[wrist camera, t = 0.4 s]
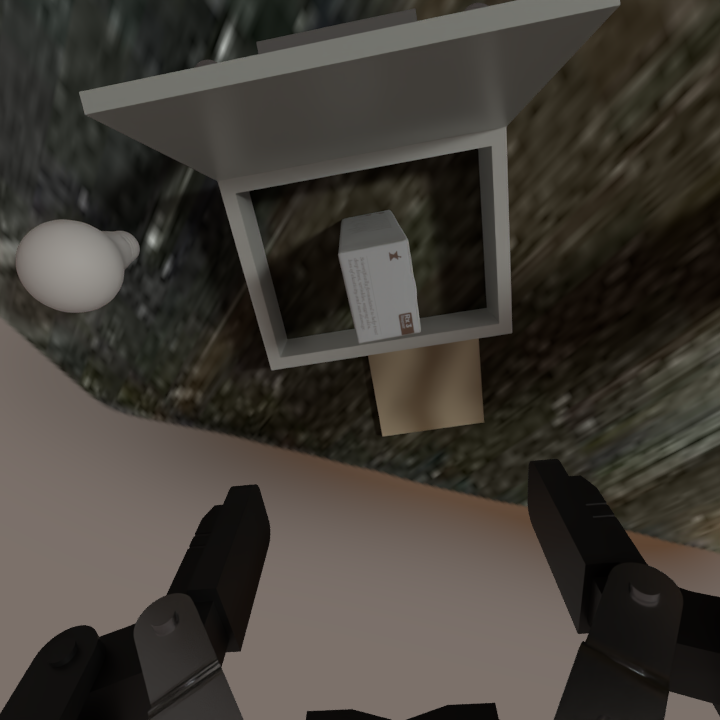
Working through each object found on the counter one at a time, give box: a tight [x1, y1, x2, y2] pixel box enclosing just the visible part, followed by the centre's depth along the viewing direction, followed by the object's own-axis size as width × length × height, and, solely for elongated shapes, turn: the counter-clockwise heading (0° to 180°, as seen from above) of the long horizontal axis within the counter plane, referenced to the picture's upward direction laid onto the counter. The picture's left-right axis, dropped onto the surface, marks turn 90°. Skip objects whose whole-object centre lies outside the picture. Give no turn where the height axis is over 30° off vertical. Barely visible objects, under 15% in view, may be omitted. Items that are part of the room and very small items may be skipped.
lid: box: [79, 0, 620, 181], centre depth 23 cm, size 20×14×1 cm
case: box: [218, 127, 512, 370], centre depth 36 cm, size 20×15×4 cm
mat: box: [368, 338, 484, 436], centre depth 43 cm, size 10×9×1 cm
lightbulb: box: [16, 219, 140, 313], centre depth 32 cm, size 6×6×11 cm
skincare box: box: [338, 210, 421, 344], centre depth 32 cm, size 6×4×12 cm
